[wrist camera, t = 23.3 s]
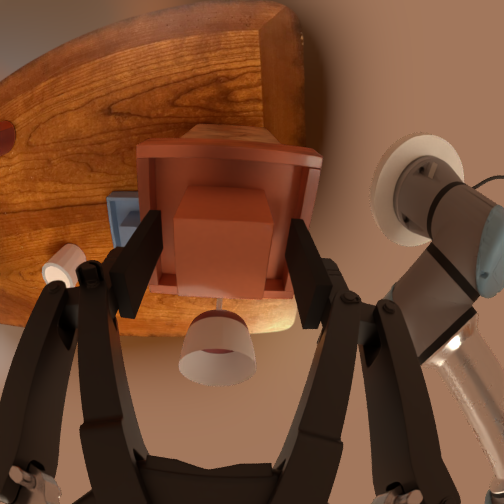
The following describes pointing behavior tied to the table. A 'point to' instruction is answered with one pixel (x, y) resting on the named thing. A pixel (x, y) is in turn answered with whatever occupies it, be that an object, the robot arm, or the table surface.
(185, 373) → the wineglass
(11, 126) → the beverage can
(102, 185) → the table surface
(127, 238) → the slate block
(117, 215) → the tray
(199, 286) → the terracotta block
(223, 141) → the stand
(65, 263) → the shot glass
